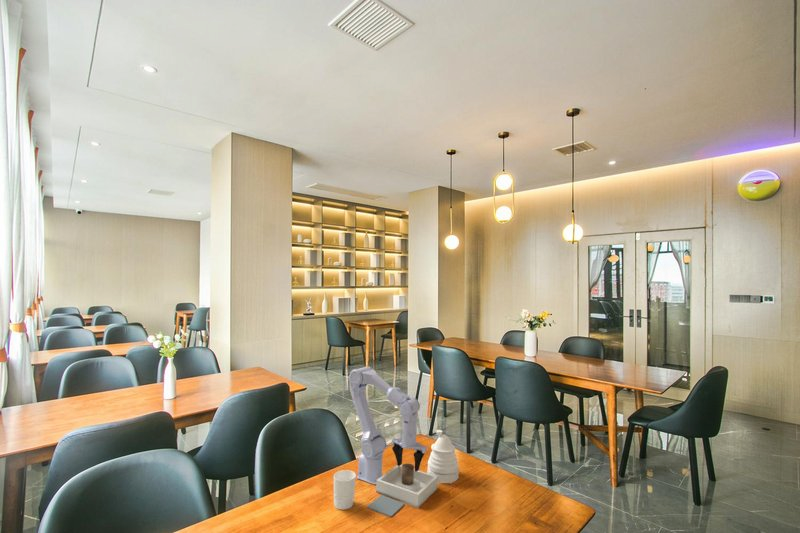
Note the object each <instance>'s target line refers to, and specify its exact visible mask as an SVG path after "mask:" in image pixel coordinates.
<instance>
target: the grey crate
mask: <svg viewBox="0 0 800 533" xmlns="http://www.w3.org/2000/svg"><path fill="white" fill-rule="evenodd" d="M402 465H403V464H401V465H400V466H398V465H395V466H393V467H392V469H390V470H389V471H387V472H385V473H383V476H381V477H380V478H379V479H377V481H376V485H375V492H376V493H377V494H380V495H383V496H385V497H388V498H391V499H393V500H396V501H399V502H401V503H404V504H405V505H408V506H411V507H413V508H416V509H419V508H420V507H421V506H422V505H423V504H424V503H425V502H427V500H428V499H429V497H431V496H432V495H433V494H434V493H435V492H436V491H437V490H438V488H439V487H438V484H439V483H438V476H435V475H431V474H428V472H425V471H422V470H420V469H419V470H418V471H417V472H416V471H415V468H414V480H413V484H412V485H404V484H402Z"/></svg>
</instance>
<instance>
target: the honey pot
mask: <svg viewBox="0 0 800 533" xmlns="http://www.w3.org/2000/svg"><path fill="white" fill-rule="evenodd" d="M436 435H437V436H438V438H437V439H436V441H435V443H432V444H431V447H430V449H431V452H430V456H429V458H428V460H427V473H428V474H431V475H435V476H438V482H439V483H438V484H441V483H450V484H453V483H452V482H454V481H456V480H457V479H458V480H459V469H460V468H459V462H458V458H457V454H456V452H455V451H456V447H455V446H454V445H453V443H452V442H451V440H450V438H449V437H448V435H446V434H443V430H441V429H436ZM458 480H457V481H458ZM457 481H456V482H457ZM454 483H455V482H454Z"/></svg>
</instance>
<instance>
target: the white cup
mask: <svg viewBox="0 0 800 533" xmlns="http://www.w3.org/2000/svg"><path fill="white" fill-rule="evenodd" d="M356 479H357V474H356V473H355V471H352V470H347V469H344V470H343V469H342V470H338V471H336V472H335V473H334V474H333V505H334V508H336V509H338V510H343V511H344V510H348V509H350V508H352V507H353V505H354V499H355V489H356Z"/></svg>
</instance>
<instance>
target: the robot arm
mask: <svg viewBox="0 0 800 533" xmlns="http://www.w3.org/2000/svg"><path fill="white" fill-rule="evenodd" d="M347 379H348V381H349V382H348V383H349V390H350V391H349V392H350V395H351V398H352V402H353V405H354V409H355V412H356V415H357V418H358V421H359V426H360V427H361V430H362V436H361V439H360V443H361V452H362V453H361V454H360V455H359V459H358V463H357V464H358V467H357V475H356V479H357V480H361V481H363V482H366V483H369V484H371V485H375V486H376V481H377V479H379V478H380V477H381V476H383V475H384V473H383V461H384V460H383V456H384V451H385V450H386V448H387V440H386V438H385V437H384V436H383V434H382V431H380V430H379V429H378V428H376V425H375V420H374V418H373V415H372V412H371V409H370V406H369V403H368V400H367V396H366V393H365V390H366V388H367V386H368V385H372V386H374V387H375V388H376V389H378V390H380V391H381V392H383V393H384V394H385V395H386V399H387V400H388V401H389V402H390V403H391V404H393V405H394V406H395V407H397V408H398V409H399V413H400V414H401V419H402V420H401V421H402V422H401V438H396V437H394V438H392V439H391V445H392V448H391V451H393V453H394V456H395V460H396V464H397V465H398V466H400V465H403V451H404V450H405V449H410V450H412V451H415V452H414V453H413V460H414V469H415V471H416V472H417V471H418V470H419V471H420V466H421V462H422V459H423V457H424V455H425V454H426V453H427V450H428V449H427V448H428V447H427V446H426V445H423V444H421V443H419V442H417V431H418V429H417V428H418V426H417V425H418V412H419V411H420V408H421V404H420V402H419V401H418V399H417V398H416V397H410V396H409V395H407V394H406V393H405V392H404V391H402V390H401V388H400V387H397V386H394V387H393V386H391V385H390V384H389V383H388V382H387V381H385V380H384V379H383V378H382V377H381V376H380V375H378V373H377V371H376V370H375V369H373V367H371V366H369V365H366V366H364V367H361V368H360V367H359V368H354V369H352V370H351V371H350V372H349V375H348V377H347ZM397 465H396V466H397Z"/></svg>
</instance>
